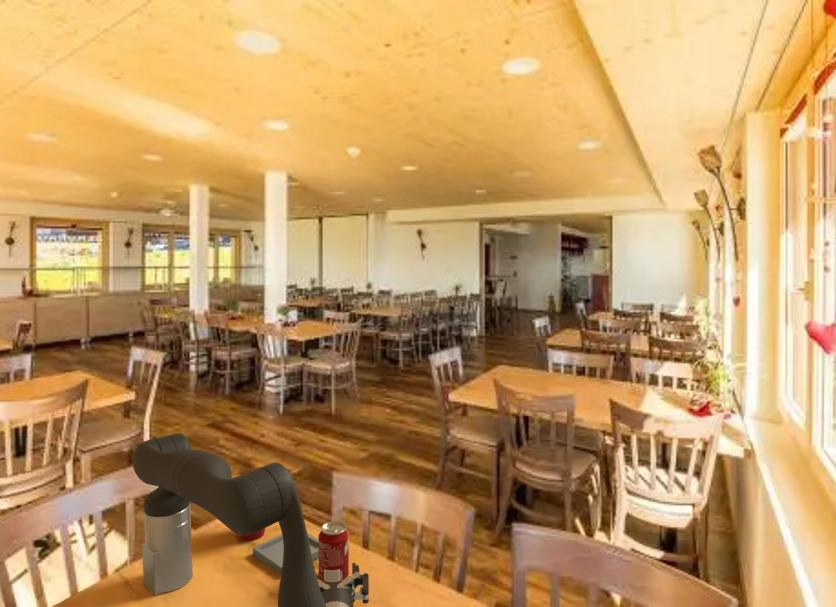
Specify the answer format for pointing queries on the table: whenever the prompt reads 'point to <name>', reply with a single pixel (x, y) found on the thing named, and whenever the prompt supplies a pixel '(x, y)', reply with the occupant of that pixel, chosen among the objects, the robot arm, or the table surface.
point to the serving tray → (280, 552)
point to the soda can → (333, 552)
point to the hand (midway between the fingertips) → (333, 568)
